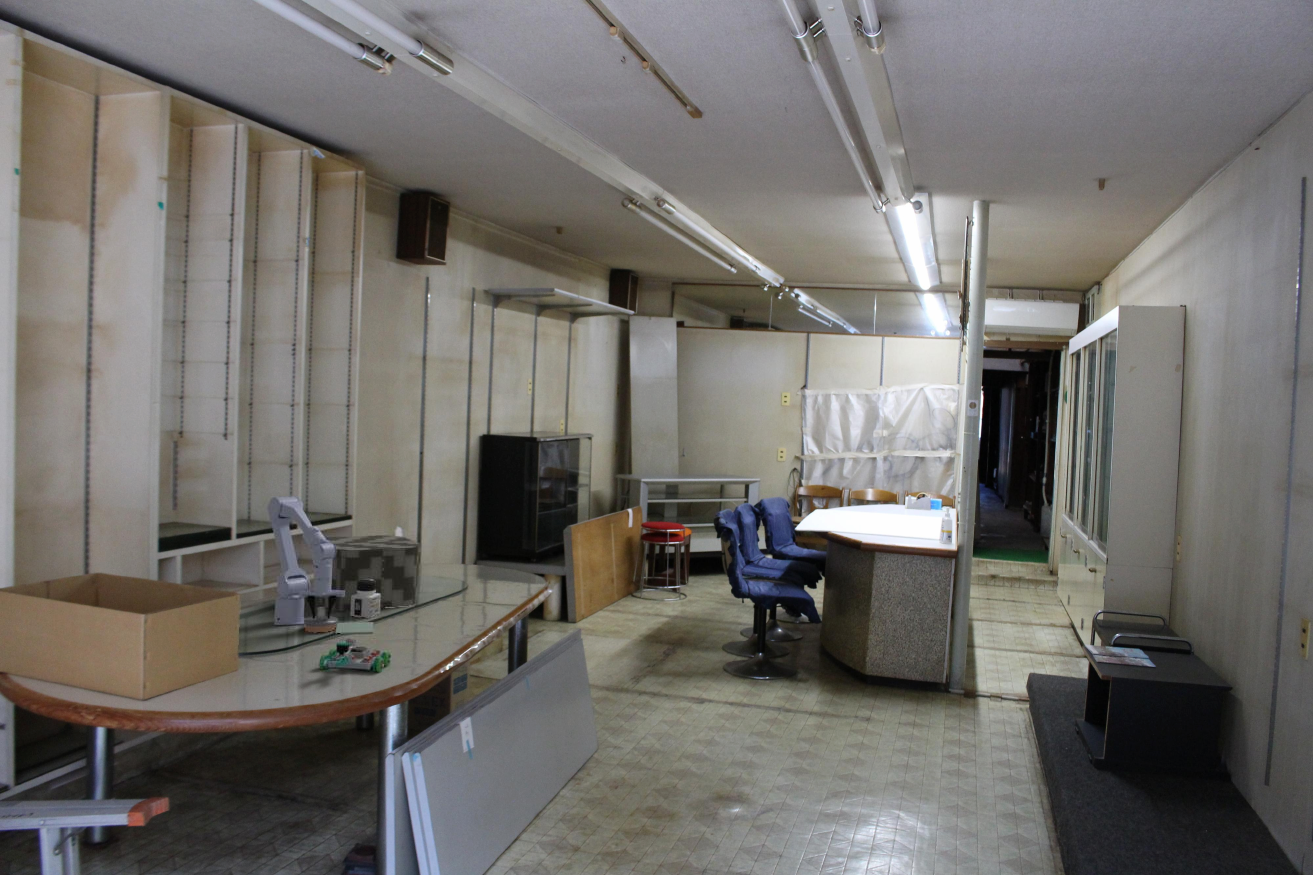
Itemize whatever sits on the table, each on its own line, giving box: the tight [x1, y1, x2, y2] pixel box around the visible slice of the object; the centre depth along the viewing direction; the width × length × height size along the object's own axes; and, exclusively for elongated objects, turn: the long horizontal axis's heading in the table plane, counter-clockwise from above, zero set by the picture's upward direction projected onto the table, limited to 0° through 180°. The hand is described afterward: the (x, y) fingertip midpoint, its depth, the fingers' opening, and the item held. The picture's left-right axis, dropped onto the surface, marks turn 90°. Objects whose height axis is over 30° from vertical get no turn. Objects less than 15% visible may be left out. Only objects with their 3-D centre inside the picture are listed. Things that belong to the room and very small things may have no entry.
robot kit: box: [318, 637, 392, 673], centre depth 260 cm, size 19×25×9 cm
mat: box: [334, 621, 374, 635], centre depth 309 cm, size 12×14×1 cm
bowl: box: [304, 623, 337, 634], centre depth 305 cm, size 10×10×2 cm
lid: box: [303, 606, 339, 626], centre depth 305 cm, size 11×11×5 cm
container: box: [350, 579, 381, 619], centre depth 329 cm, size 8×8×13 cm
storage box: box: [315, 534, 422, 612], centre depth 353 cm, size 35×35×23 cm
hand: (321, 617), depth 305 cm, fingers open, 4 cm apart
